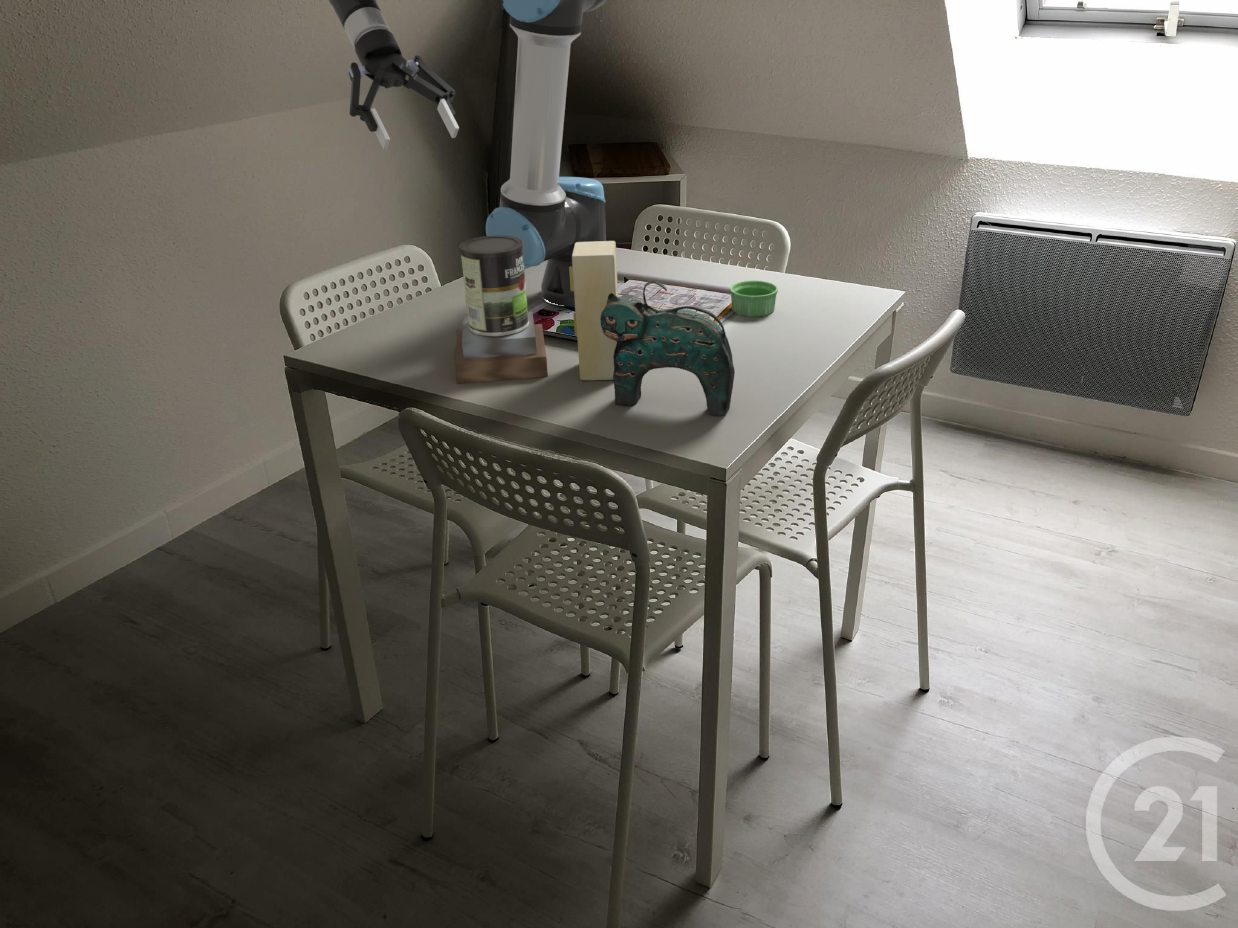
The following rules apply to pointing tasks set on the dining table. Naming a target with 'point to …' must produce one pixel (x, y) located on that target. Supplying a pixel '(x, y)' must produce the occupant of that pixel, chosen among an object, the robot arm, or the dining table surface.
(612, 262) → the cream tall block
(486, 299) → the coffee can
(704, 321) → the ceramic cat
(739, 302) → the ramekin
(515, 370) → the tower base
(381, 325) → the dining table surface
